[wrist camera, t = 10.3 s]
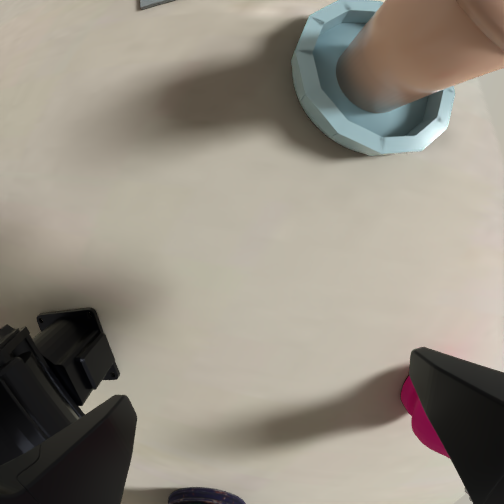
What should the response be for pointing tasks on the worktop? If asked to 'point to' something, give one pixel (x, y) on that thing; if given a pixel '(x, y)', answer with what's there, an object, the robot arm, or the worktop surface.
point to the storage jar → (203, 496)
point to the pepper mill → (421, 420)
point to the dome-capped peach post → (420, 50)
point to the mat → (152, 3)
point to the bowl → (338, 105)
